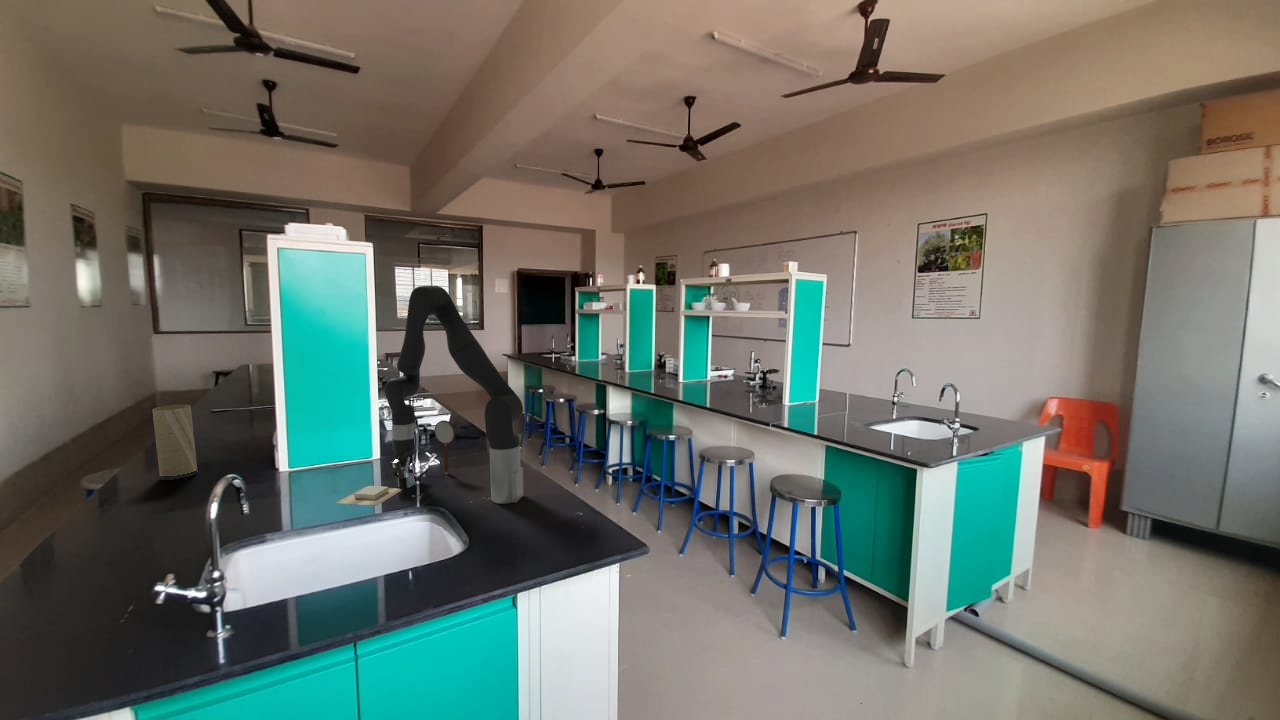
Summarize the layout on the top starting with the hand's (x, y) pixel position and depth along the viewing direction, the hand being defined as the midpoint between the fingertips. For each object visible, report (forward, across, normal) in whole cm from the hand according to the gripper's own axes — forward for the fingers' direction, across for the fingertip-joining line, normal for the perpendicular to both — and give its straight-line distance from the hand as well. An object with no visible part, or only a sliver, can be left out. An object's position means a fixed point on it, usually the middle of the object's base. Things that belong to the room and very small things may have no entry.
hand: (407, 485), depth 175 cm
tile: (-1, -6, +6) cm, 9 cm away
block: (0, 0, 0) cm, 0 cm away
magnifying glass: (+1, +12, -8) cm, 15 cm away
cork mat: (0, -10, +6) cm, 12 cm away
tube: (+1, -3, +86) cm, 87 cm away
